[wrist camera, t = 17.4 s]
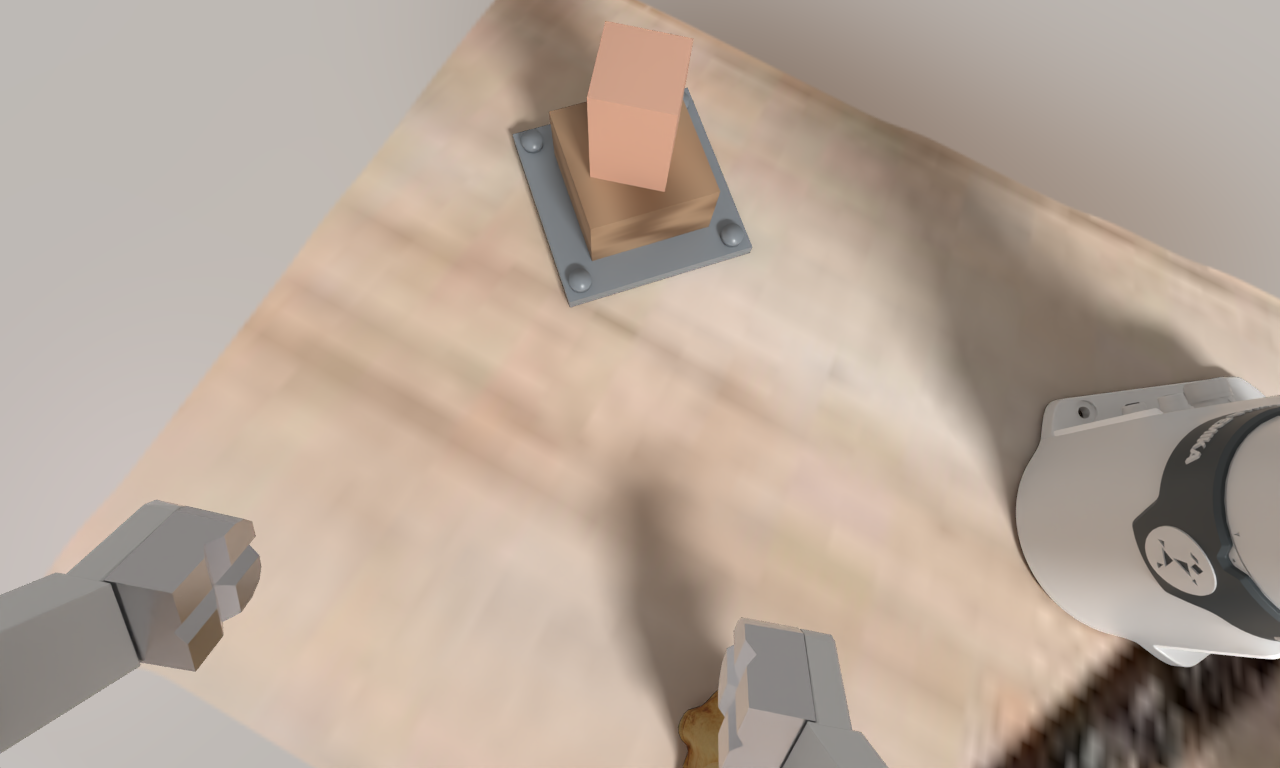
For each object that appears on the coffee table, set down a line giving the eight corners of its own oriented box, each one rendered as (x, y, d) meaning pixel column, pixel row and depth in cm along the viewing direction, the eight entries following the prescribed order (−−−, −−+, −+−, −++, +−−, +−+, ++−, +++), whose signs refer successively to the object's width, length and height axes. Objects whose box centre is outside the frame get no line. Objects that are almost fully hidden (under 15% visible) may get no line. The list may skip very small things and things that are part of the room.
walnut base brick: (667, 123, 50) (674, 78, 45) (708, 226, 48) (720, 191, 43) (554, 154, 49) (549, 111, 44) (591, 261, 47) (590, 229, 42)
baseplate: (685, 96, 52) (688, 82, 50) (749, 252, 49) (754, 243, 47) (514, 142, 50) (511, 129, 48) (569, 307, 47) (568, 299, 46)
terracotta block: (605, 111, 44) (605, 20, 36) (677, 126, 44) (693, 38, 36) (590, 177, 43) (586, 97, 35) (664, 192, 43) (677, 115, 35)
